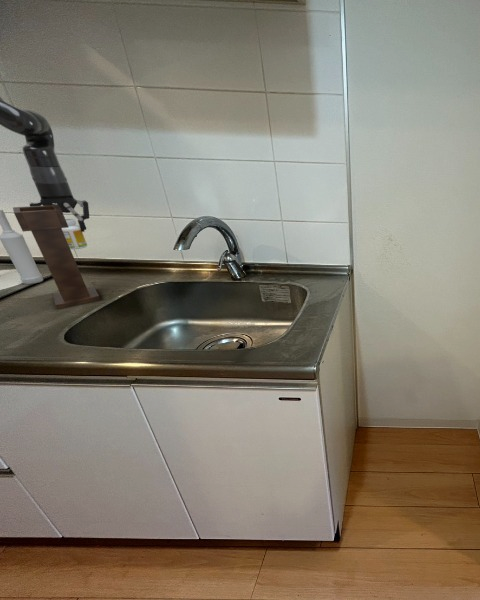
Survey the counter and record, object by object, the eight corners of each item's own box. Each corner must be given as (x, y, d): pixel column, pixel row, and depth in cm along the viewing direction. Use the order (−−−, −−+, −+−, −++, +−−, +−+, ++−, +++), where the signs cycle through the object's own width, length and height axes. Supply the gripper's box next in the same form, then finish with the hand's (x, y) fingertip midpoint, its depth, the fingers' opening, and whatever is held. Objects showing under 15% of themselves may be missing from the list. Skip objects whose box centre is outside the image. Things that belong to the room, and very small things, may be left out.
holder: (57, 309, 94) (10, 213, 81) (54, 298, 100) (10, 207, 87) (100, 299, 101) (64, 210, 88) (95, 290, 107) (60, 204, 94)
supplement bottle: (87, 244, 113) (77, 217, 109) (88, 248, 110) (77, 220, 105) (66, 246, 109) (55, 219, 105) (66, 250, 106) (55, 222, 102)
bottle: (42, 277, 113) (8, 208, 102) (45, 281, 110) (11, 210, 99) (21, 281, 109) (-17, 209, 98) (24, 285, 106) (-14, 212, 95)
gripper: (79, 179, 107) (96, 227, 114) (16, 179, 97) (40, 232, 104) (83, 182, 103) (100, 232, 110) (17, 182, 93) (41, 237, 100)
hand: (71, 232), depth 107 cm, fingers closed on supplement bottle, 5 cm apart
